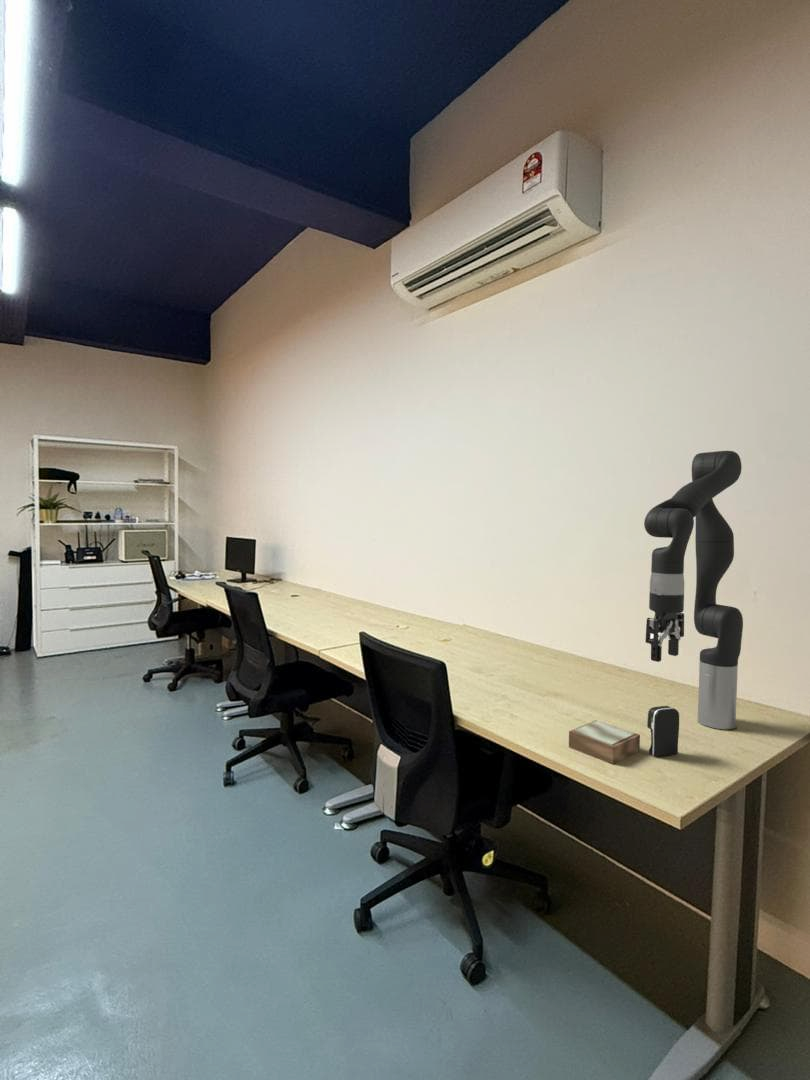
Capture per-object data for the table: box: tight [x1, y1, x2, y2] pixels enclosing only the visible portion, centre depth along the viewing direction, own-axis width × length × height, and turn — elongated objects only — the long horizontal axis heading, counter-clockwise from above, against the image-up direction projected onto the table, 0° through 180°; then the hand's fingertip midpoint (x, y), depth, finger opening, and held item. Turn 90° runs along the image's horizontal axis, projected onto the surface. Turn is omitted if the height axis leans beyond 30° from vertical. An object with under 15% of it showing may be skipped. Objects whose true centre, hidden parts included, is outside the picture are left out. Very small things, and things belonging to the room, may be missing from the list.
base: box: [568, 719, 641, 765], centre depth 136 cm, size 12×12×4 cm
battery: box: [646, 705, 680, 758], centre depth 134 cm, size 7×4×11 cm, turn 106°
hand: (664, 658), depth 133 cm, fingers open, 8 cm apart
